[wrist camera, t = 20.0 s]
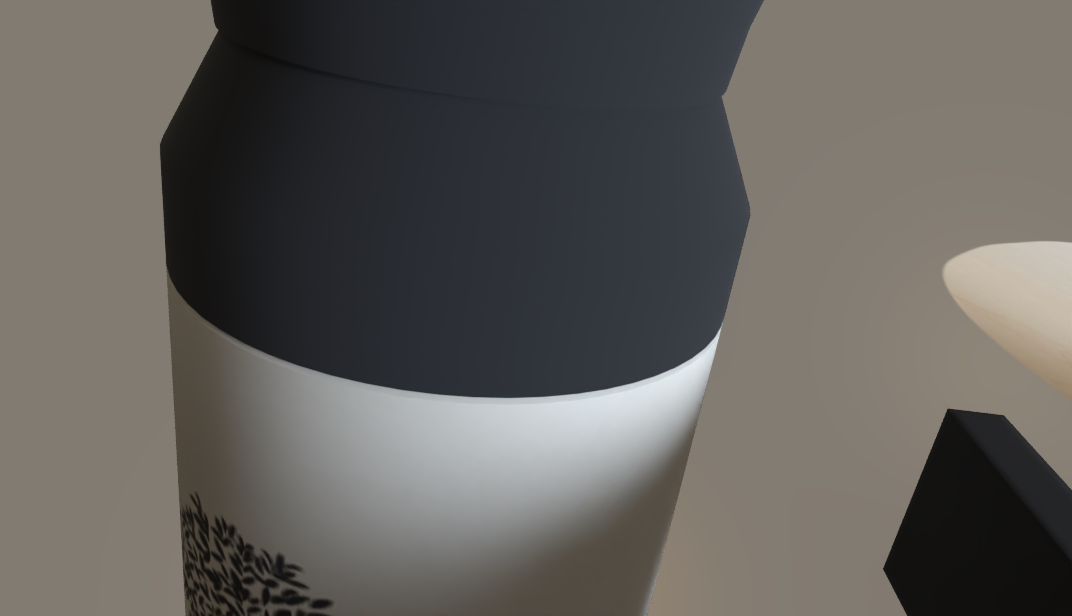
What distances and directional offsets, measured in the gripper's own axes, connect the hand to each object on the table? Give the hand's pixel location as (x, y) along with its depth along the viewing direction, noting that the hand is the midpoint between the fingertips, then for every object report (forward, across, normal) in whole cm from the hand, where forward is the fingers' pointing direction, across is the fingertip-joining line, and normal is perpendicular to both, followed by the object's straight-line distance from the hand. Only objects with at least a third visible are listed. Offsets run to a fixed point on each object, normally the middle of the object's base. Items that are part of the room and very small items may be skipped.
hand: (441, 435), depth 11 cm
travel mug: (+2, 0, -12) cm, 12 cm away
